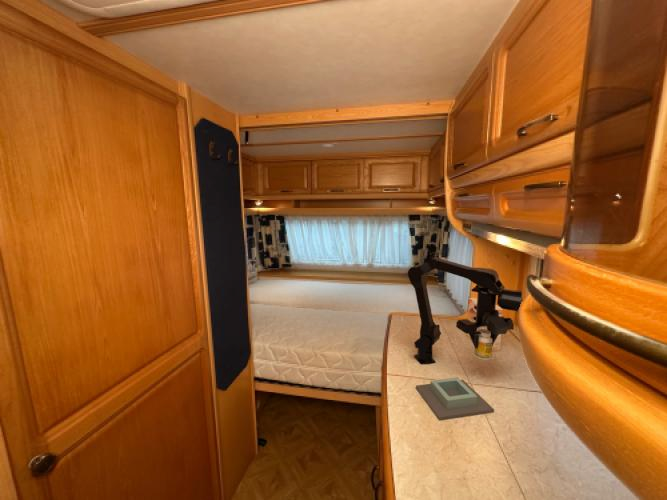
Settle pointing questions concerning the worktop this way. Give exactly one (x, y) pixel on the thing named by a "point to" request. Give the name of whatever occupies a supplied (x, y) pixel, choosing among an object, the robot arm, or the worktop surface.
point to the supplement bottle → (484, 345)
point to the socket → (453, 399)
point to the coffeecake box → (473, 314)
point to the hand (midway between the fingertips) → (483, 347)
